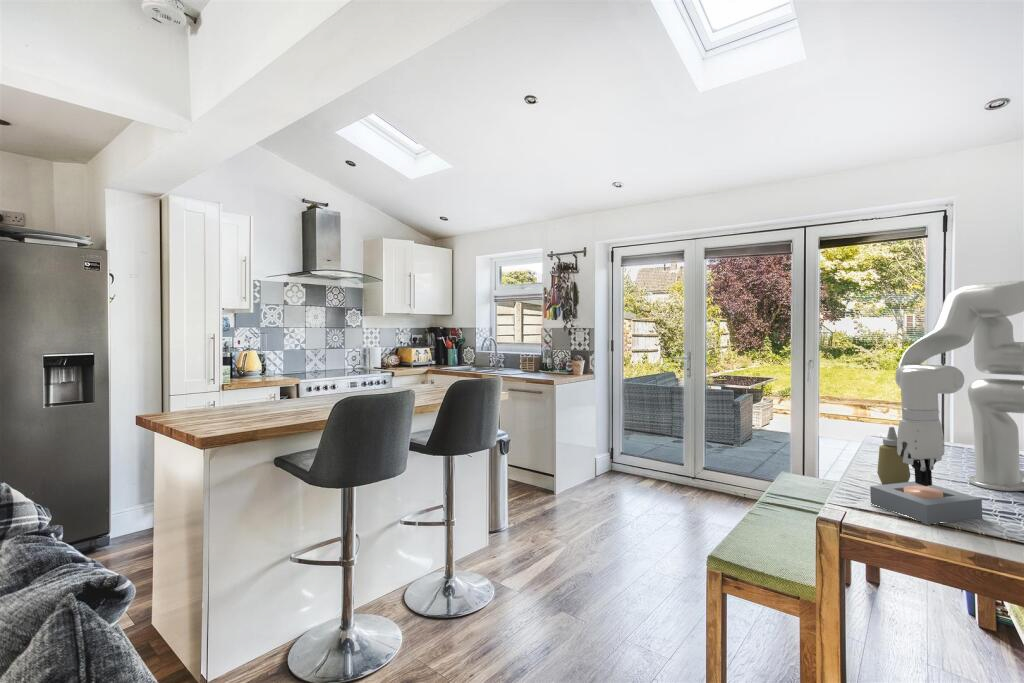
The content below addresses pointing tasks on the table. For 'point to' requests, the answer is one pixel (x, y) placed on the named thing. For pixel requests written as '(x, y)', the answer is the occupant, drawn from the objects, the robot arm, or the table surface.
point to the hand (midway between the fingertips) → (923, 484)
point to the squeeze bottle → (891, 461)
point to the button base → (927, 503)
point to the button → (923, 492)
